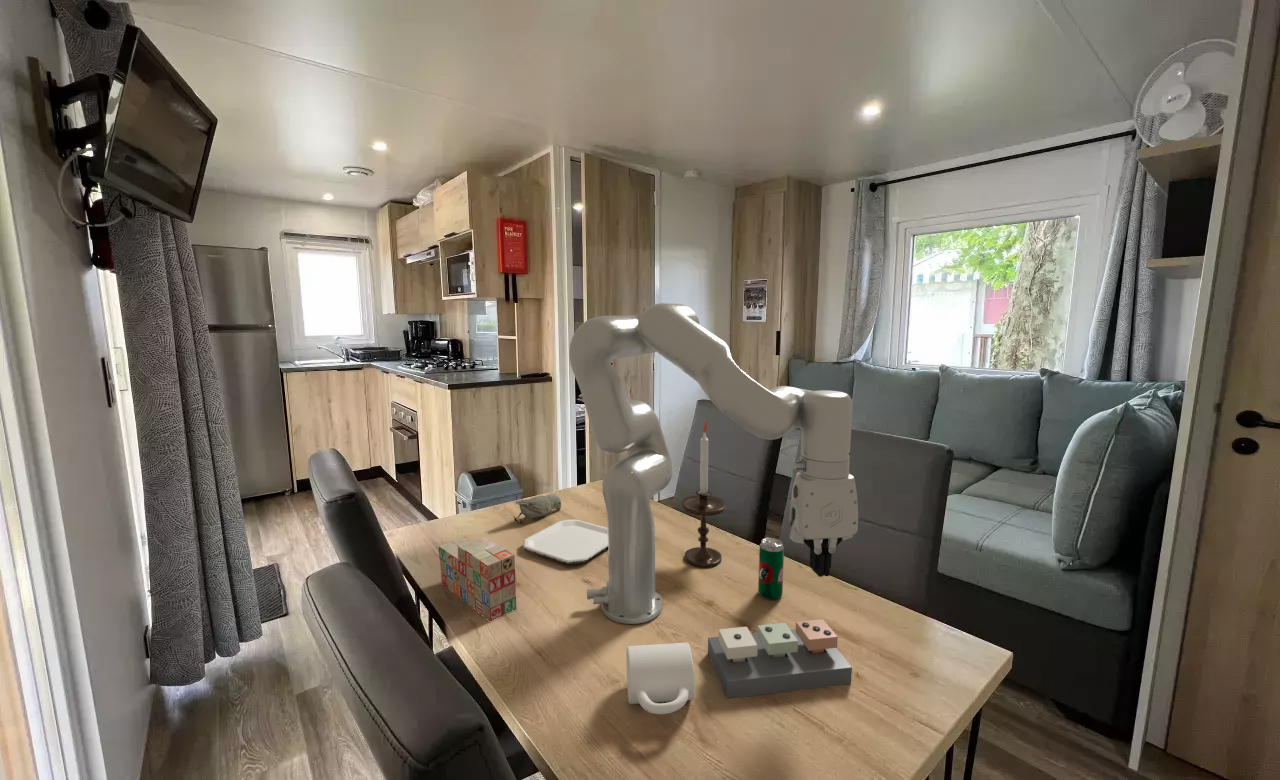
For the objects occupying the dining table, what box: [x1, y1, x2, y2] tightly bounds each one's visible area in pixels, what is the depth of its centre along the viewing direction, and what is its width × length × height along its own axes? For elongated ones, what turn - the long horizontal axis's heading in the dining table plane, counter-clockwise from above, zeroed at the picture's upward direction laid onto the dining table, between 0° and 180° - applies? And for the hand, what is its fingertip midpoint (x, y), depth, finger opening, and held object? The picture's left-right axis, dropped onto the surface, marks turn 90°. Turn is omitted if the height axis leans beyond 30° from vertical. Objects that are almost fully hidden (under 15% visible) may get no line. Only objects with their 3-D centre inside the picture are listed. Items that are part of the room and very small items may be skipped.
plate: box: [523, 518, 608, 565], centre depth 134 cm, size 21×21×2 cm
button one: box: [718, 626, 757, 663], centre depth 85 cm, size 5×5×5 cm
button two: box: [757, 622, 798, 659], centre depth 86 cm, size 5×5×5 cm
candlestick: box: [680, 419, 727, 569], centre depth 123 cm, size 11×11×35 cm
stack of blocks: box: [438, 536, 517, 622], centre depth 109 cm, size 21×6×12 cm, turn 47°
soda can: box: [757, 537, 785, 601], centre depth 109 cm, size 5×5×12 cm
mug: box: [625, 642, 696, 715], centre depth 79 cm, size 12×10×8 cm
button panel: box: [707, 628, 853, 699], centre depth 87 cm, size 21×11×3 cm, turn 98°
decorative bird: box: [513, 493, 562, 526], centre depth 152 cm, size 5×16×7 cm, turn 138°
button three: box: [795, 618, 839, 654], centre depth 87 cm, size 5×5×5 cm
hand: (819, 572), depth 85 cm, fingers closed
